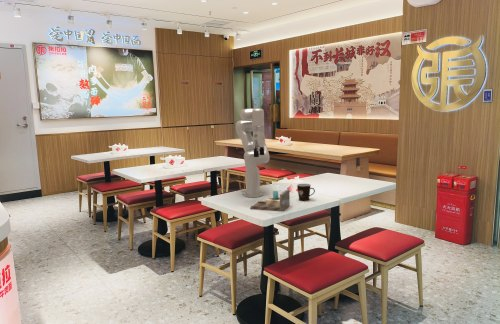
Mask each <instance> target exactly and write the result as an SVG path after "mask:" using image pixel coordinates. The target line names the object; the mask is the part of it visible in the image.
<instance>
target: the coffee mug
mask: <svg viewBox="0 0 500 324" xmlns="http://www.w3.org/2000/svg"><path fill="white" fill-rule="evenodd" d="M296 187H297V194H298V200H299V201H300V202H308V201H309V200H310V197H311V196H312V195H314V194H315V192H316V190H315V187H311V184H310V183H298V184H297V185H296ZM311 190H313V193H311ZM310 193H311V194H310Z"/></svg>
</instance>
